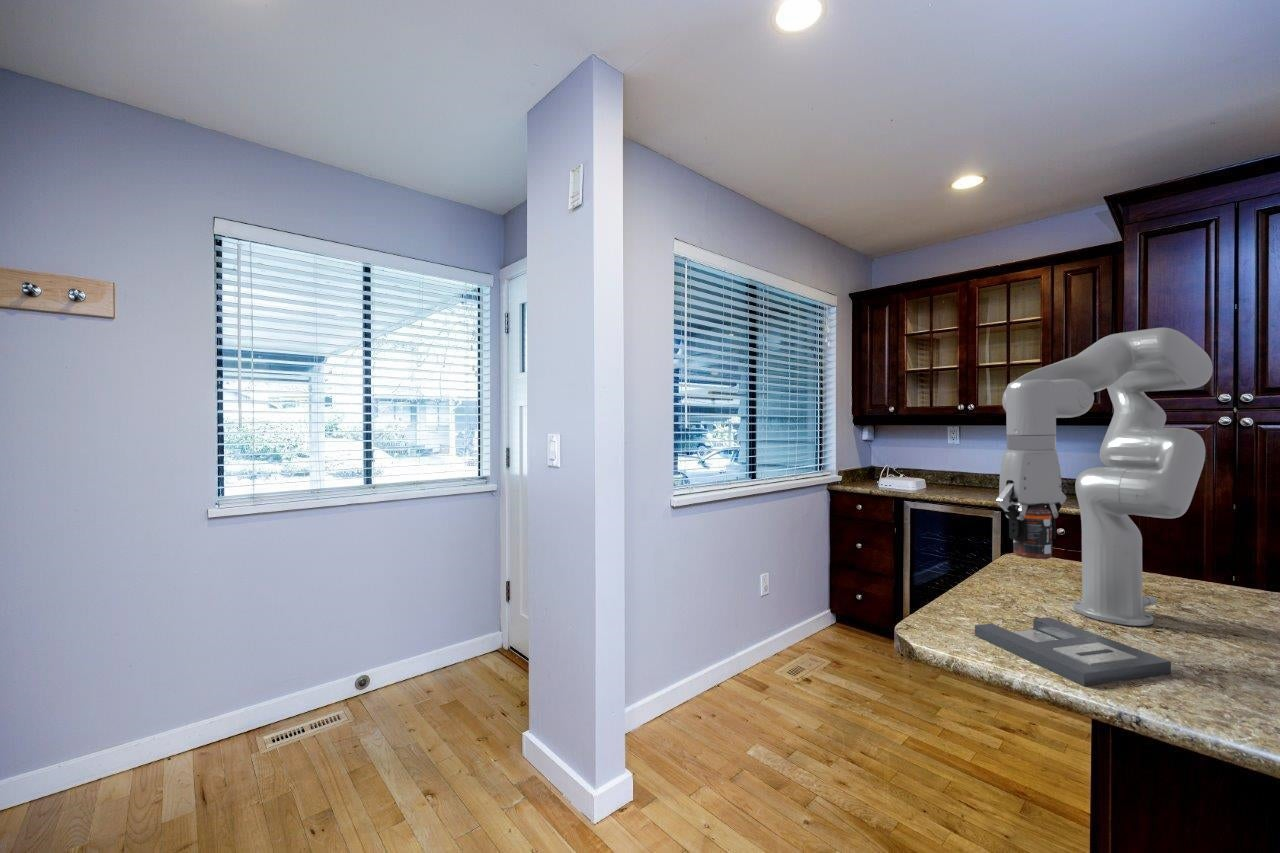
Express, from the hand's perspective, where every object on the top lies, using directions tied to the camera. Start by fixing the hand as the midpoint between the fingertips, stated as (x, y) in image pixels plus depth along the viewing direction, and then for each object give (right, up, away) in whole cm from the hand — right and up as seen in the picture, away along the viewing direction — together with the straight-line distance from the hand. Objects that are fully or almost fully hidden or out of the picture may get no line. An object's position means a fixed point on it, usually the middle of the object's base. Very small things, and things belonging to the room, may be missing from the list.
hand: (1032, 537), depth 98 cm
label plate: (+1, -19, -6) cm, 20 cm away
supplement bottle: (0, -4, 0) cm, 4 cm away
